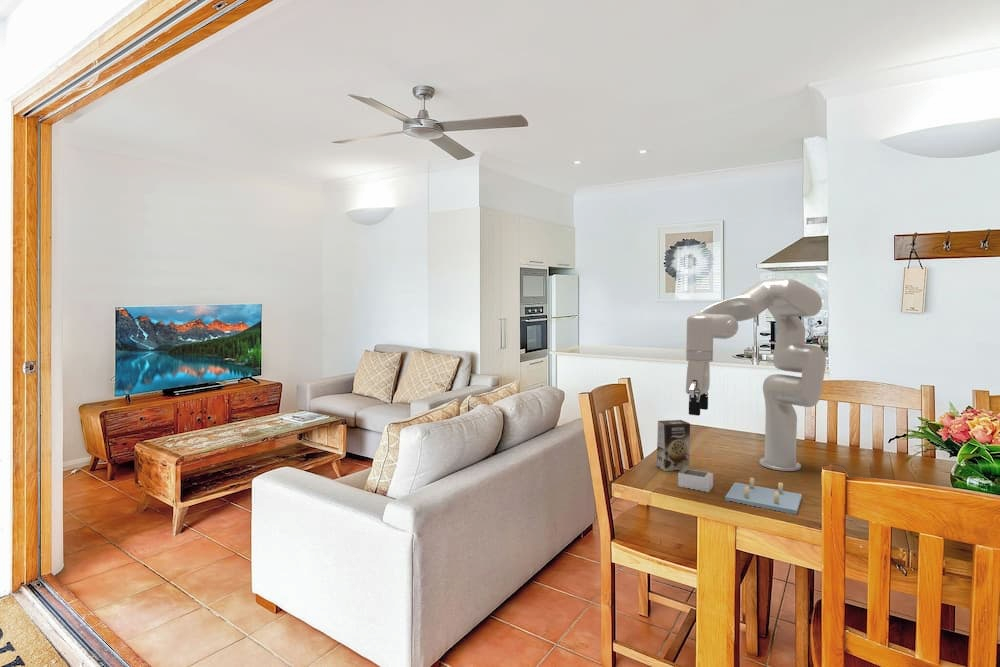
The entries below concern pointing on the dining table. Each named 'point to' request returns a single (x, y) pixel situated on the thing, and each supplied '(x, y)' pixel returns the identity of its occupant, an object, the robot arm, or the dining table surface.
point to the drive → (695, 480)
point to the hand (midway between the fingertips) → (698, 411)
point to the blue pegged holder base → (765, 497)
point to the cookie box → (673, 445)
